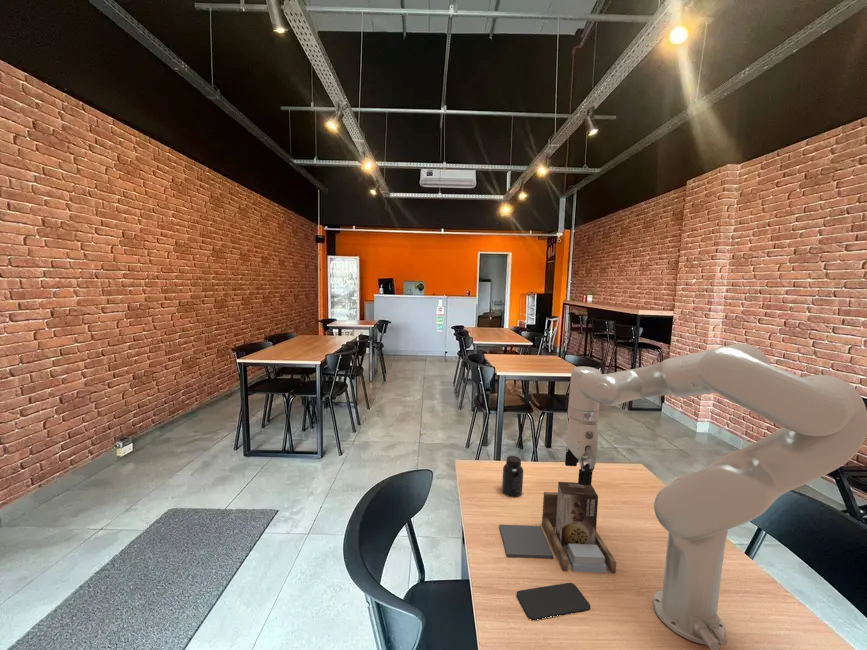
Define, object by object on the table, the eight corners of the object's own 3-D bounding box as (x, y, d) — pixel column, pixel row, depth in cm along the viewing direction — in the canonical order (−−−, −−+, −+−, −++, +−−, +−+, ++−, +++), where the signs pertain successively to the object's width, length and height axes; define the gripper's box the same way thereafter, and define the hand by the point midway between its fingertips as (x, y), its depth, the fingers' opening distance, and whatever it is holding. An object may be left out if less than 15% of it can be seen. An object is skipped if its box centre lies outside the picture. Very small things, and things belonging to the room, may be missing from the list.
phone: (593, 608, 79) (530, 619, 76) (592, 611, 79) (529, 623, 76) (572, 581, 87) (514, 590, 83) (572, 584, 87) (514, 594, 83)
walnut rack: (615, 572, 90) (618, 534, 89) (562, 570, 90) (565, 532, 89) (585, 525, 108) (588, 493, 107) (541, 523, 108) (543, 491, 107)
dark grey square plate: (553, 558, 94) (553, 555, 94) (507, 556, 94) (507, 554, 94) (540, 528, 106) (540, 526, 106) (499, 527, 106) (499, 524, 106)
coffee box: (587, 537, 103) (591, 483, 101) (595, 553, 97) (599, 496, 95) (554, 534, 104) (557, 480, 102) (559, 550, 97) (563, 493, 96)
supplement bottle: (497, 489, 127) (499, 455, 126) (513, 485, 130) (515, 452, 129) (509, 499, 121) (511, 464, 120) (526, 495, 124) (528, 461, 122)
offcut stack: (605, 573, 90) (607, 558, 90) (573, 572, 90) (574, 557, 90) (597, 558, 95) (598, 544, 95) (566, 557, 95) (567, 543, 95)
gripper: (612, 426, 88) (605, 493, 90) (584, 403, 105) (578, 460, 107) (581, 425, 88) (575, 492, 90) (558, 402, 105) (553, 458, 107)
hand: (577, 474), depth 99 cm, fingers open, 9 cm apart
